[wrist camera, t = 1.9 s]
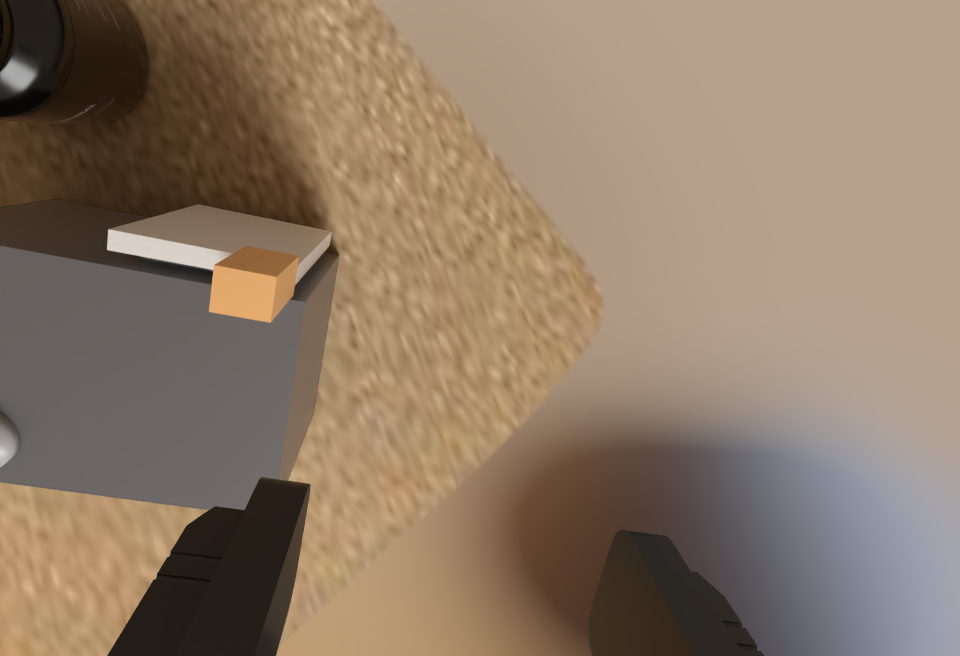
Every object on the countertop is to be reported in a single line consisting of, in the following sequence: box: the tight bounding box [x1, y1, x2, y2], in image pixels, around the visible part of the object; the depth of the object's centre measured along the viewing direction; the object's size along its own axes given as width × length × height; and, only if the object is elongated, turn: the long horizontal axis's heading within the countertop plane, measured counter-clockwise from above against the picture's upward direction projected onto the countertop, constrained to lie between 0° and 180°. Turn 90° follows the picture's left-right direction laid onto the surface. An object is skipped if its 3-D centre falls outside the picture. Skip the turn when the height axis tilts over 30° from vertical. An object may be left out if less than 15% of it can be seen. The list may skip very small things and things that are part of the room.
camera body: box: [0, 199, 339, 510], centre depth 30 cm, size 10×17×12 cm, turn 77°
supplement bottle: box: [0, 0, 148, 125], centre depth 26 cm, size 7×7×12 cm
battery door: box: [107, 204, 332, 323], centre depth 27 cm, size 2×7×14 cm, turn 78°
